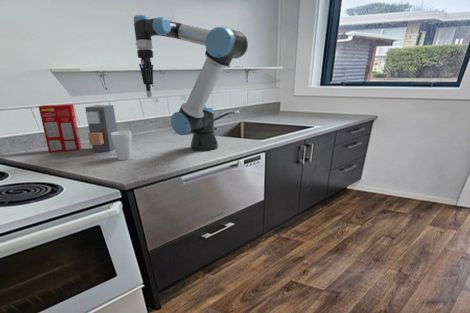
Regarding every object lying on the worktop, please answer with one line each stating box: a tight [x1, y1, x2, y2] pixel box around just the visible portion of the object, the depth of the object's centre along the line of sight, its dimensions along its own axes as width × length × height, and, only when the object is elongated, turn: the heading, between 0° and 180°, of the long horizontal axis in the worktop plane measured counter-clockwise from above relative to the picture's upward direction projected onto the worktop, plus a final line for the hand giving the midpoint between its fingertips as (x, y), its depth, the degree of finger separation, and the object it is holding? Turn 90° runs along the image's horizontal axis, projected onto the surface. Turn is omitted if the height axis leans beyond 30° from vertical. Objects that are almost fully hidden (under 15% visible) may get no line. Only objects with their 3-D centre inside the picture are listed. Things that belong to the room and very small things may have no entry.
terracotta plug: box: [87, 132, 104, 146], centre depth 145 cm, size 13×6×6 cm, turn 175°
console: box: [84, 104, 118, 153], centre depth 147 cm, size 10×10×24 cm
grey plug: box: [85, 111, 102, 124], centre depth 144 cm, size 13×6×6 cm, turn 175°
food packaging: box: [38, 103, 82, 154], centre depth 147 cm, size 15×5×25 cm, turn 106°
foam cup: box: [110, 130, 133, 161], centre depth 131 cm, size 10×9×13 cm
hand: (149, 97), depth 142 cm, fingers closed
